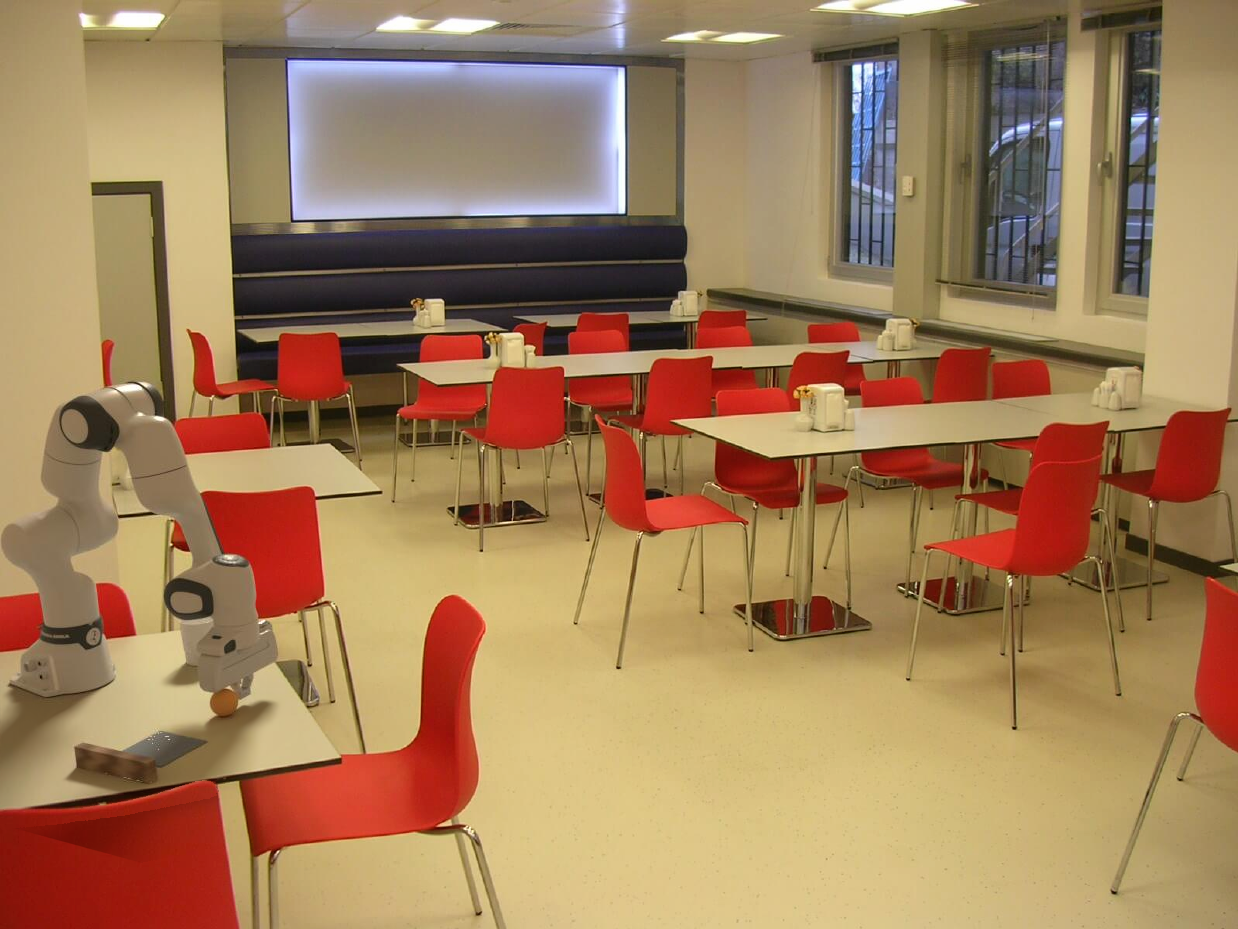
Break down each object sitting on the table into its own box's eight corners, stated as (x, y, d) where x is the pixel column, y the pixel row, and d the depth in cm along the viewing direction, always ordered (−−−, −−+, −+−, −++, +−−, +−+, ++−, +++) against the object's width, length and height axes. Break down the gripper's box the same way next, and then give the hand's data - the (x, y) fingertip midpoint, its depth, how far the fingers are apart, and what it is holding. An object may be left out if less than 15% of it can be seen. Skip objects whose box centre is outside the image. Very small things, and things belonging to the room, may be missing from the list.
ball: (225, 697, 271) (210, 718, 268) (215, 680, 268) (200, 702, 264) (247, 702, 269) (232, 724, 266) (237, 685, 266) (223, 707, 262)
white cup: (209, 668, 293) (205, 625, 291) (176, 666, 295) (172, 623, 292) (226, 655, 301) (222, 613, 298) (194, 653, 302) (190, 612, 300)
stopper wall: (76, 766, 246) (74, 746, 245) (85, 762, 247) (82, 742, 247) (149, 784, 238) (146, 763, 237) (157, 779, 240) (155, 758, 239)
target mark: (113, 756, 250) (113, 755, 250) (160, 731, 260) (160, 730, 260) (161, 767, 244) (161, 766, 244) (207, 741, 255) (207, 740, 255)
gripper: (258, 615, 280) (264, 677, 283) (189, 647, 262) (196, 713, 265) (282, 619, 277) (287, 681, 280) (214, 652, 259) (221, 718, 262)
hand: (242, 697), depth 272 cm, fingers closed
